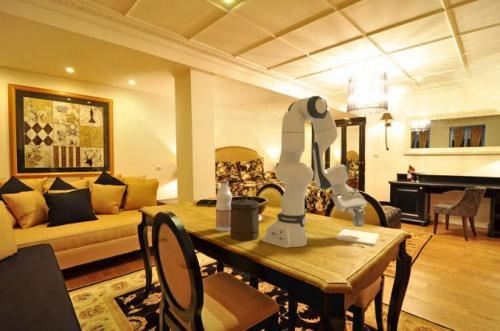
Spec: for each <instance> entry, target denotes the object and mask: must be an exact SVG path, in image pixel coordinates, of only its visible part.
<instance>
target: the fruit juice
mask: <svg viewBox="0 0 500 331" xmlns="http://www.w3.org/2000/svg"><path fill="white" fill-rule="evenodd" d="M229 183H230V182H229V181H228V180H220V181H219V184H220V186H219V189H218V191H217V193H216V195H215V198H216V204H215V230H216V231H217V232H229V231H230V218H231V202H232V201H233V200H232V198H233V194H232V192H231V190H230V187H229Z"/></svg>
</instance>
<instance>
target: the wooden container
mask: <svg viewBox="0 0 500 331" xmlns="http://www.w3.org/2000/svg"><path fill="white" fill-rule="evenodd" d="M248 198H249V196H248V195H247V194H242V195H241V199H238V200H231V218H230V232H229V233H230V238H231V239H233V240H235V241H242V242H243V241H246V242H247V241H254V240H256V239H258V238H259V237H260V236H259V234H260V233H259V232H260V231H259V229H260V226H259V225H260V222H259V201H257V200H253V199H248Z"/></svg>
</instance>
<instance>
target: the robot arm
mask: <svg viewBox="0 0 500 331" xmlns="http://www.w3.org/2000/svg"><path fill="white" fill-rule="evenodd" d="M327 103H328V102H327V101H326V100H325V98H324V97H323V96H321V95H312V96H309V97H305V98H301V99H299V100H297V101H294V102H292V103H291V104H290V105H289V106H288V108H287V111H286V112H285V113H284V114H283V117H282V124H281V140H280V142H281V149H280V154H279V159H278V165H277V166H276V167H275V170H274V174H275V178H276V179H277V180H278V181H280V182H281V183H282V184H285V189H284V192H283V195H282V196H281V198H280V200H281V201H280V204H281V205H280V206H281V208H280V212H279V213H278V214H276V218H277V220H276V221H274V222H272V224H270V225H269V226H268V227H267V229H266V232H265V235H263V236H262V237H261V239H260V240H261V242H264V243H267V244H271V245H274V246H277V247H280V248H283V249H285V248H286V249H288V248H300V247H301V248H302V247H304V246H306V245H308V240H307V236H306V227H305V226H306V215H305V214H304V209H305V198H306V193H307V190H308V187H309V185H310V184H311V183H312V182H313V180H314V181H315V186H316V187H317V188H319V189H321V190H324V191H327V190H328V189H330V190H331V191H332V194H333V195H332V196H331V199H332V200H333V201H332V202H333V203H334V206H335V207H336V209H337V211H339V212H344V211H345V212H347V213H349V214H350V215H351V216H352V217H355V216H356V215H357V214H356V212H354V211H353V209H362V210H364V208H365V207H366V206H367V204H368V202H367V200H366V199H365V197H364V196H363V195H362V194H361V193H360V191H359V189H358V188H353V187H351V186H349V185H348V184H347V181H348V180H349V178H350V174H351V172H350V169H349V168H348V167H347V166H346V165H344V164H342V163H338V164H335V165H333V166H331V167H329V168H326V169H325V166H324V159H323V158H324V153H325V152H326V151H327V150H328V148H330V146H332V145H333V144H334V143H335V142H336V140H337V138H338V133H339V132H338V128H337V125H336V122H335V118H334V116H333V114H332V112H331V110H330V108H328V104H327ZM308 121H310V122H311V123H312V128H313V131H314V141H313V143H312V145H311V148H312V149H311V153H312V162H313V168H312V167H311V166H309V165H308V164H306V163H304V162H300V160H301V157H302V155H303V153H304V151H305V147H306V145H305V143H306V142H305V140H306V139H305V138H306V136H305V135H306V132H305V123H306V122H308ZM313 169H314V170H313ZM365 214H366V212H365V211H364V215H365Z"/></svg>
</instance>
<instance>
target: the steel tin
mask: <svg viewBox="0 0 500 331" xmlns="http://www.w3.org/2000/svg"><path fill="white" fill-rule="evenodd" d="M352 211H354V212H356V214H357V215H356V216H355V217H353V216H352V217H353V218H352V223H353V224H352V226H355V227H358V228H359V227H360V228H362V227H364V225H365V224H364V223H365V214H364V212H365V210H364V209H363V210H362V209H352Z"/></svg>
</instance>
